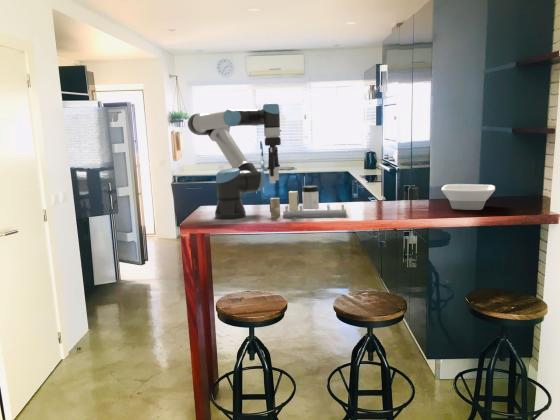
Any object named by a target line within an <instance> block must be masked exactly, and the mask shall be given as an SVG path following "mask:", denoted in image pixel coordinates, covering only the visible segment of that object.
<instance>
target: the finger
mask: <svg viewBox="0 0 560 420" xmlns="http://www.w3.org/2000/svg"><path fill="white" fill-rule="evenodd" d="M280 199H281V198H280V197H270V198H269V200H270V201H269V212H270V218H271V217H274V218H280V217H281V203H280Z"/></svg>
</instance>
